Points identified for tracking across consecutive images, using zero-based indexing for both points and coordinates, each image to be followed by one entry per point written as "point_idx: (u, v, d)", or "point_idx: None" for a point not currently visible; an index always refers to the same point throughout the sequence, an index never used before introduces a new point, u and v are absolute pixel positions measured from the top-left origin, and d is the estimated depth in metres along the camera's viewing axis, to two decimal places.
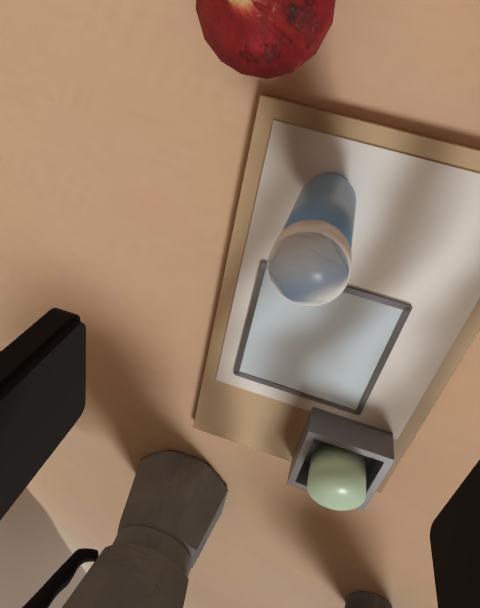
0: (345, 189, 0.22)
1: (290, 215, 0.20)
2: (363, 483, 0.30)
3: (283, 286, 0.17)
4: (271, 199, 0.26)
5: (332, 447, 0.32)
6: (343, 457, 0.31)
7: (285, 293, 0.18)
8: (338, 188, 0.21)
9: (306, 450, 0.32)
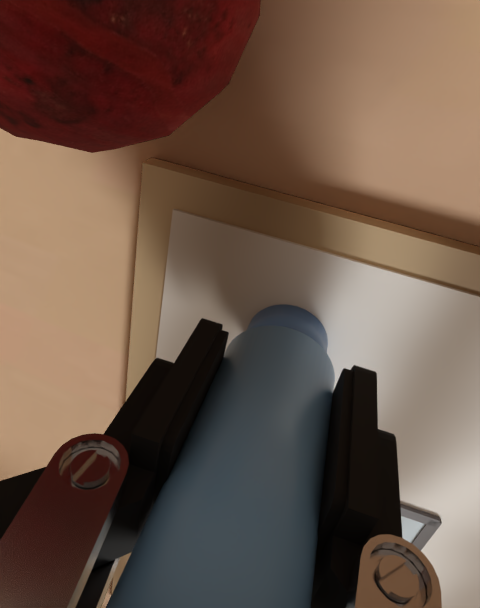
0: (307, 381, 0.10)
1: (156, 504, 0.08)
2: None
3: None
4: (184, 341, 0.14)
5: None
6: None
7: None
8: (289, 389, 0.09)
9: None
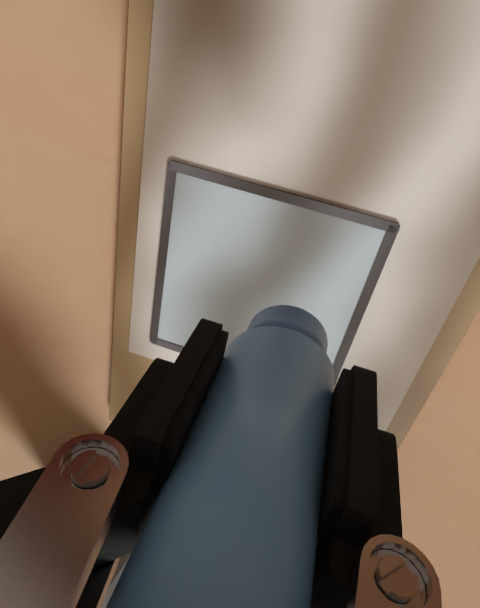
0: (307, 382, 0.10)
1: (155, 506, 0.08)
2: None
3: None
4: (173, 48, 0.16)
5: None
6: None
7: None
8: (289, 390, 0.09)
9: None
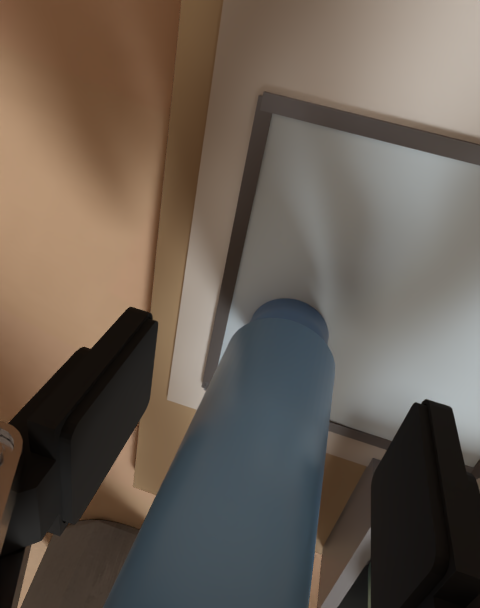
0: (308, 371, 0.10)
1: (162, 486, 0.08)
2: None
3: None
4: None
5: None
6: None
7: None
8: (291, 378, 0.10)
9: (364, 560, 0.14)
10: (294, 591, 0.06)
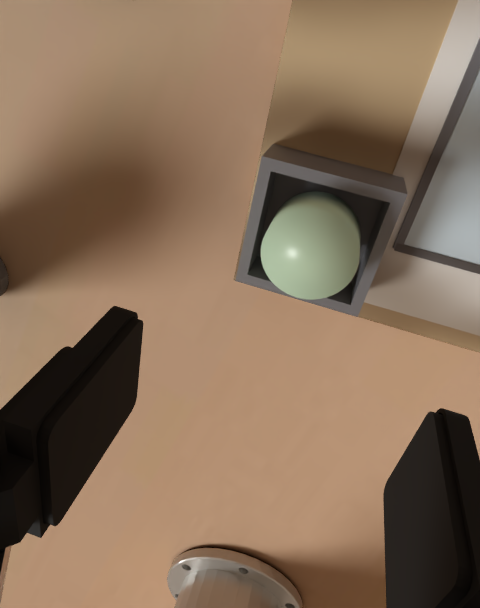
0: None
1: None
2: None
3: None
4: None
5: (359, 228, 0.19)
6: None
7: None
8: None
9: (357, 191, 0.18)
10: None
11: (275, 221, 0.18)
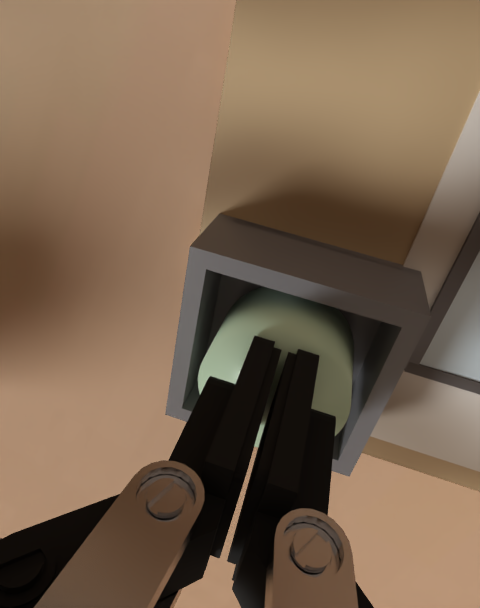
0: None
1: None
2: None
3: None
4: None
5: (352, 342, 0.13)
6: None
7: None
8: None
9: (347, 306, 0.11)
10: None
11: (217, 343, 0.11)
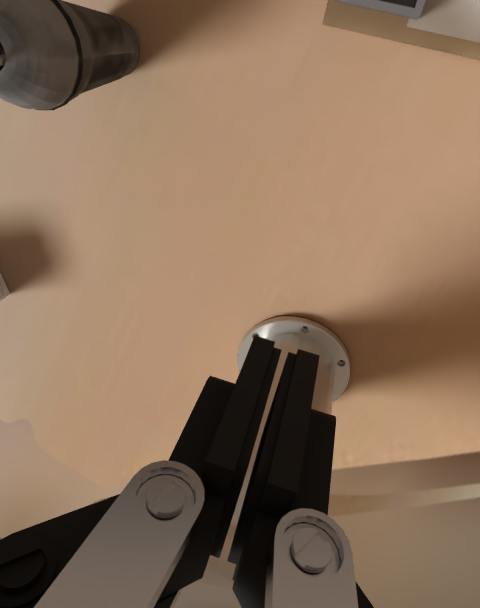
0: None
1: None
2: None
3: None
4: None
5: None
6: None
7: None
8: None
9: None
10: None
11: None
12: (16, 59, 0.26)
